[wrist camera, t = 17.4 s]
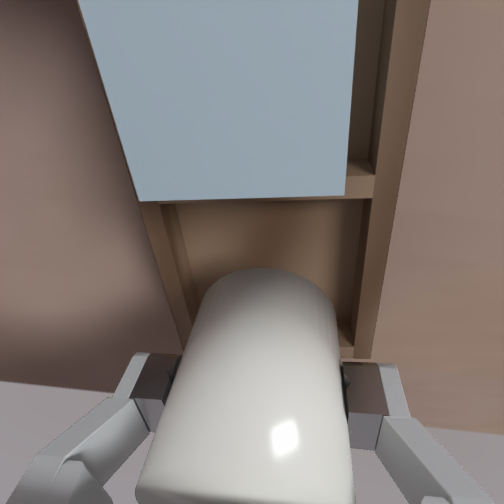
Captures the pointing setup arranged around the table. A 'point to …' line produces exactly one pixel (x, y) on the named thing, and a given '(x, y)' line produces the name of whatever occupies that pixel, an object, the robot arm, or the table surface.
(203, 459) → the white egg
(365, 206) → the organiser base
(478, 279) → the table surface
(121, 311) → the table surface
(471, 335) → the table surface
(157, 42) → the blue cube
